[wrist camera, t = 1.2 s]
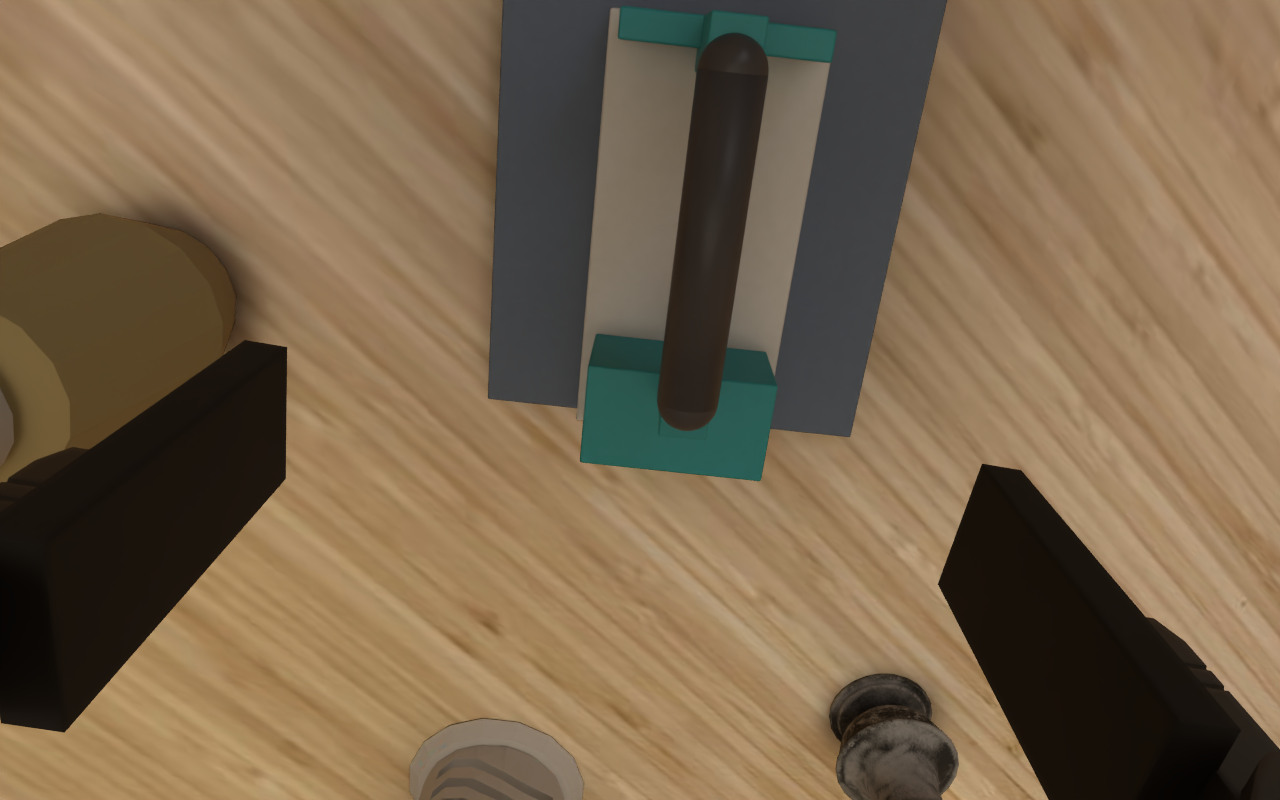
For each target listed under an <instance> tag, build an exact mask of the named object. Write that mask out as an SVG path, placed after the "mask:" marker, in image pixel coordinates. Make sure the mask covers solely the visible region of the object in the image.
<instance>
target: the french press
mask: <svg viewBox="0 0 1280 800" xmlns="http://www.w3.org/2000/svg"><path fill="white" fill-rule="evenodd" d="M583 789H584V782H583V780H582V777H581V775H580V772H579V770H578V768H577V765H576V763H575V760H574V758H573V757H572V756H571V755H570V754H569V753H568V752H567V751H566V750H565V749H563V748H562V747H561V746H560V745H559V744H558V743H557V742H556V741H555V740H554V739H553V738H552V737H551V736H549V735H546V734H544V733H542V732H539V731H537V730H535V729H533V728H530V727H528V726H526V725H523V724H521V723H519V722H510V721H501V720H491V719H479V720H474V721H469V722H464V723H459V724H455V725H450V726H448V727H446V728H445V729H443V730H442V731H440V732H439V733H437V734H436V735H434V736H432V737H431V738H429V739H428V740H426V741H425V742H423V744H422V746H421V747H420V749H419V751H418V752H417V754H416V756H415V757H414V759H413V761H412V762H411V764H410V793H411V795H412V797H413V798H414V800H582V797H583Z"/></svg>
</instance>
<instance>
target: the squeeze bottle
mask: <svg viewBox="0 0 1280 800" xmlns="http://www.w3.org/2000/svg"><path fill="white" fill-rule="evenodd" d="M235 306H236V296H235V293H234V290H233V287H232V284H231V281H230V278H229V275H228V272H227V270H226V269H225V268H224V267H223V265H222V264H221V263H220V262H219V260H218V259H217V258H216V257H215V255H214V254H213V253H212V251H211V250H210V249H209V248H208V247H206V246H205V245H203V244H202V243H200V242H199V241H197V240H196V239H194V238H193V237H191V236H190V235H188V234H186V233H185V232H183V231H179V230H175V229H171V228H167V227H163V226H158V225H154V224H149V223H144V222H140V221H135V220H130V219H125V218H120V217H115V216H110V215H106V214H101V213H99V214H92V215H86V216H79V217H73V218H66V219H60V220H58V221H56V222H54V223H52V224H50V225H48V226H45V227H43V228H41V229H39V230H37V231H35V232H33V233H31V234H29V235H26V236H24V237H22V238H20V239H18V240H16V241H14V242H12V243H10V244H7V245H5V246H3V247H1V248H0V483H1V482H7V480H8V478H9V477H10V476H12V475H13V474H15V473H16V472H18V471H19V470H21V469H22V468H24V467H25V466H27V465H28V464H30V463H32V462H33V461H35V460H37V459H40V458H43V457H45V456H48V455H51V454H54V453H57V452H60V451H62V450H65V449H68V448H71V447H77V448H83V449H91V448H92V447H94V446H95V445H96V444H98V443H99V442H101V441H102V440H104V439H105V438H106V437H108V436H109V435H111V434H112V433H114V432H115V431H116V430H118V429H119V428H121V427H122V426H123V425H125V424H126V423H128V422H129V421H131V420H132V419H133V418H135V417H136V416H138V415H139V414H141V413H142V412H143V411H145V410H146V409H148V408H149V407H151V406H152V405H153V404H155V403H156V402H158V401H159V400H160V399H162V398H163V397H165V396H166V395H168V394H169V393H170V392H172V391H173V390H175V389H176V388H178V387H179V386H180V385H182V384H183V383H185V382H186V381H188V380H189V379H190V378H192V377H193V376H195V375H196V374H197V373H199V372H200V371H202V370H203V369H205V368H206V367H207V366H209V365H210V364H212V363H213V362H215V361H216V360H217V359H219V358H220V357H222V355H223V353H224V350H225V347H226V344H227V341H228V339H229V336H230V333H231V330H232V328H233V325H234V322H235Z"/></svg>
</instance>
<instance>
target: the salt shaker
mask: <svg viewBox="0 0 1280 800" xmlns="http://www.w3.org/2000/svg"><path fill="white" fill-rule="evenodd" d="M931 715H932V709H931V703H930V700H929V698H928V696H927V694H926V692H925V691H924V690H923V689H922V688H921V687H920V686H919V685H918V684H916V683H915V682H913V681H911V680H909V679H907V678H904V677H901V676H897V675H888V674H878V675H872V676H867V677H864V678H861V679H859V680H856V681H854V682H852V683H851V684H849V685H848V686H846V687H845V688H844V689H843V690H842V691H841V692H840V693H839V694H838V695H837V696H836V697H835V699H834V701H833V703H832V705H831V708H830V715H829V719H830V724H831V729H832V731H833V732H834V734H835V736H836V738H837V739H838V740H840V741H841V746H840V752H839V755H838V757H837V763H836V774H837V779H838V783H839V784H840V786H841V788H842V789H843V791H844V793H845V794H847V795H848V796H849V797H850V798H851V799H852V800H942V797H941V795H942V794H943V793H944V792H945V791H946V790H947V789H948V788H949V787H950V785H951V783H952V782H953V780H954V778H955V777H956V774H957V769H958V765H959V762H958V754H957V750H956V748H955V746H954V744H953V742H952V741H951V739H950V738H949V737H948V736H947V735H946V734H945V733H944V732H943V731H942V730H940V729H939V728H938V727H937V726H936V725H935V724H934V723H933V722H932V721H931Z"/></svg>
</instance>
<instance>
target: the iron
mask: <svg viewBox="0 0 1280 800" xmlns="http://www.w3.org/2000/svg"><path fill="white" fill-rule="evenodd" d="M836 37H837V31H836V30H833V29H824V28H816V27H807V26H798V25H789V24H781V23H772V22H769V17H768V16H762V15H753V14H745V13H736V12H727V11H718V10H712V11H711V12H709V13H708V14H706V15H702V14H693V13H684V12H675V11H667V10H658V9H649V8H640V7H632V6H621V8H611V9H610V17H609V29H608V41H607V53H606V65H605V77H604V89H603V101H602V113H601V125H600V138H599V150H598V162H597V174H596V186H595V198H594V210H593V222H592V234H591V246H590V259H589V271H588V283H587V295H586V307H585V319H584V331H583V343H582V355H581V367H580V380H579V392H578V404H577V416H576V419H577V420H578V421H583V429H582V441H581V452H580V462H583V463H592V464H602V465H611V466H621V467H630V468H640V469H649V470H659V471H668V472H678V473H687V474H697V475H706V476H716V477H725V478H735V479H744V480H754V481H760V480H761V478H762V472H763V467H764V461H765V456H766V450H767V444H768V439H769V433H770V428H771V422H772V417H773V411H774V406H775V400H776V395H777V389H778V386H777V383H776V380H775V377H774V376H775V371H776V365H777V360H778V354H779V348H780V343H781V337H782V331H783V326H784V320H785V315H786V309H787V303H788V298H789V292H790V287H791V281H792V275H793V270H794V264H795V259H796V253H797V247H798V242H799V236H800V231H801V225H802V219H803V214H804V208H805V202H806V197H807V191H808V186H809V180H810V174H811V169H812V163H813V158H814V152H815V146H816V141H817V135H818V130H819V124H820V118H821V113H822V107H823V102H824V96H825V90H826V85H827V79H828V73H829V68H830V63H831V62H832V59H833V54H834V48H835V42H836Z"/></svg>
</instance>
